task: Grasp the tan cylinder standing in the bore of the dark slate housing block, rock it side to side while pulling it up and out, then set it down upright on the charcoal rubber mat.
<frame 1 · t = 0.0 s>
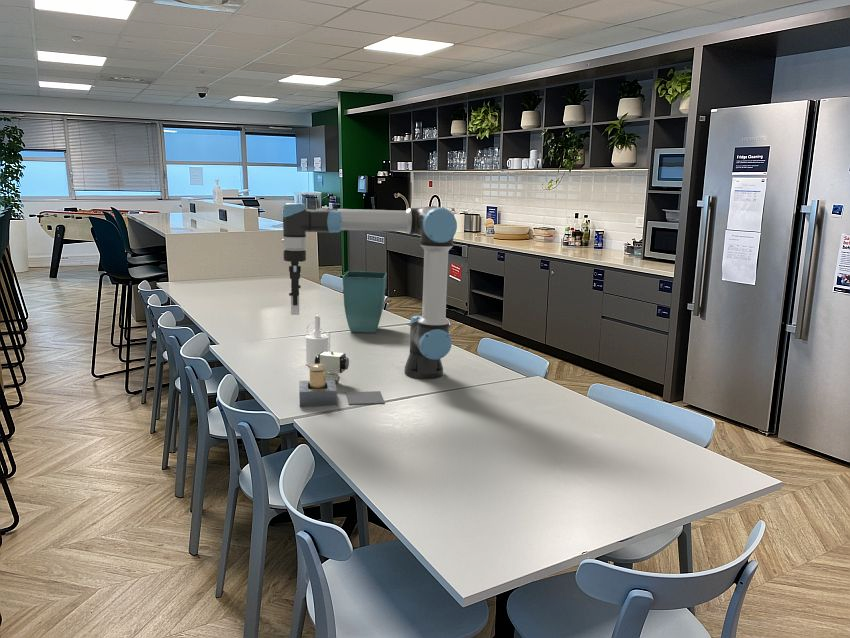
hand: (295, 310, 219), 28 cm above the table, fingers open, 13 cm apart
tan cylinder: (317, 400, 213), resting in housing
mat: (365, 398, 216), on the table
housing: (317, 399, 213), on the table
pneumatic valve: (332, 382, 232), on the table
white squeeze bottle: (318, 364, 255), on the table
flower pot: (364, 330, 317), on the table
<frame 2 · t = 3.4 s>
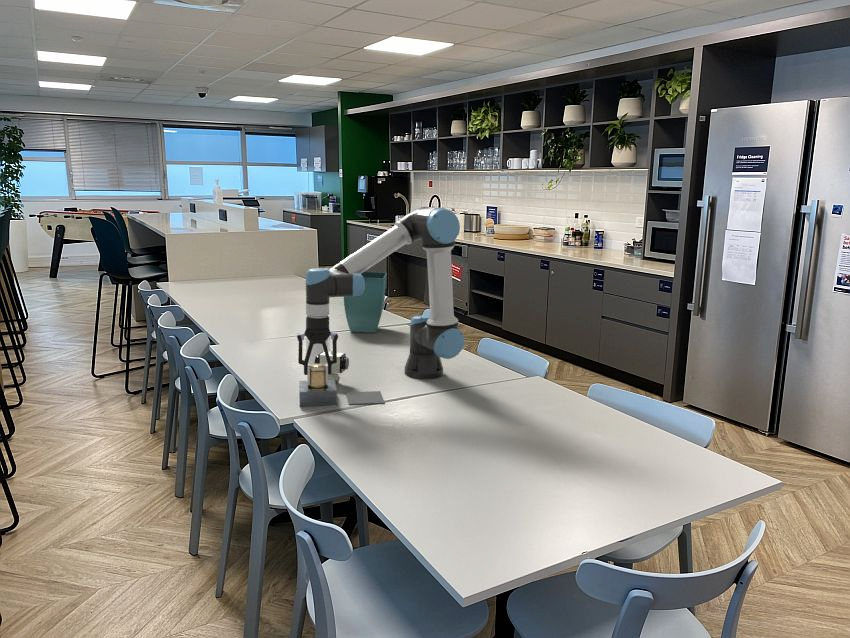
hand: (317, 383, 212), 6 cm above the table, fingers closed on tan cylinder, 5 cm apart
tan cylinder: (317, 400, 213), resting in housing, touching gripper
everything else where it was.
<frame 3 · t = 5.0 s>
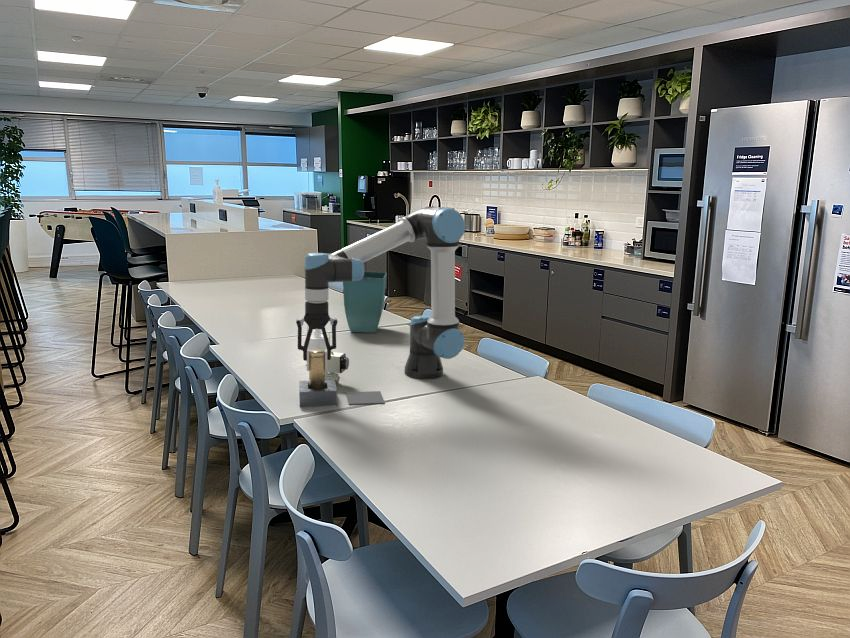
hand: (317, 369, 211), 11 cm above the table, fingers closed on tan cylinder, 5 cm apart
tan cylinder: (317, 385, 212), point 5 cm above the table, touching gripper
everything else where it was.
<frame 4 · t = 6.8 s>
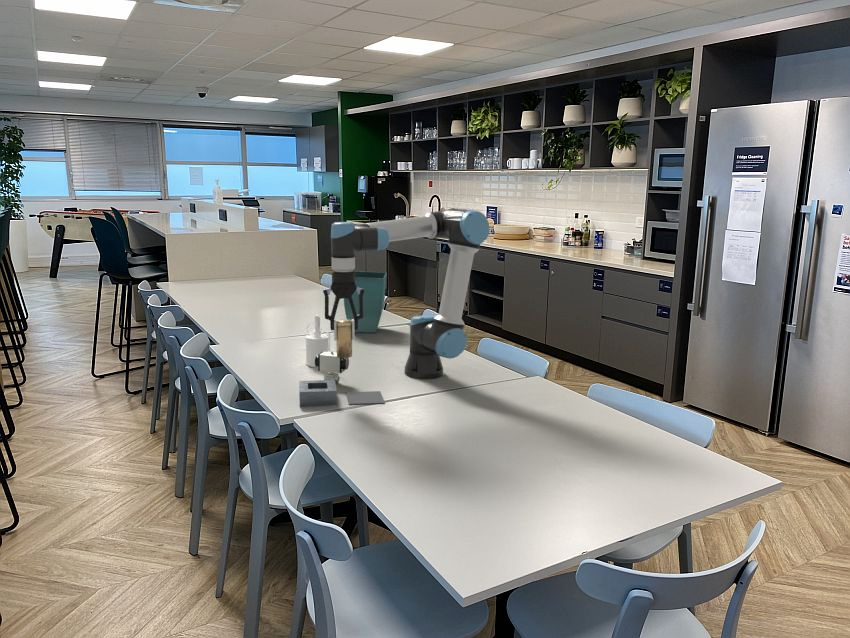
hand: (344, 339, 211), 21 cm above the table, fingers closed on tan cylinder, 5 cm apart
tan cylinder: (344, 355, 212), point 15 cm above the table, touching gripper
everything else where it was.
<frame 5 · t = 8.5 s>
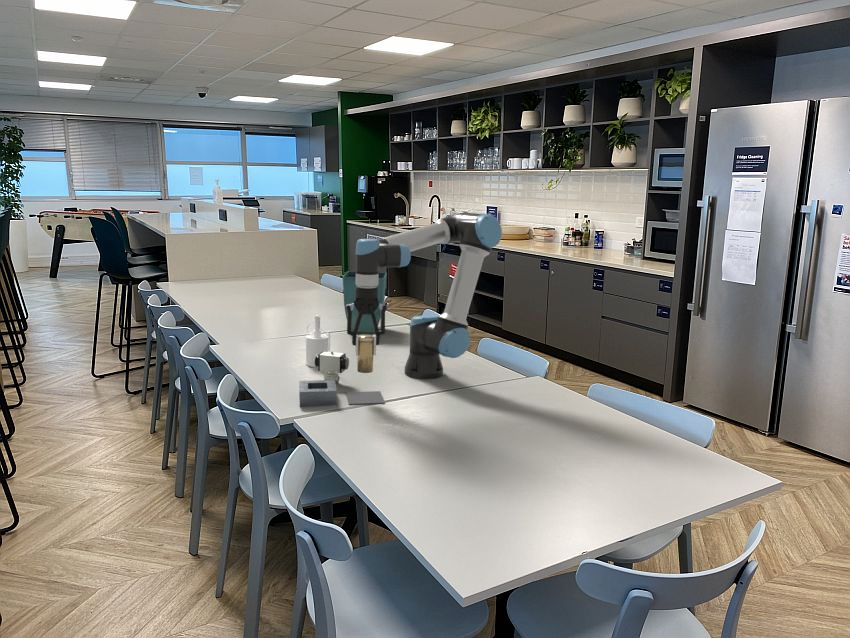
hand: (365, 354, 213), 16 cm above the table, fingers closed on tan cylinder, 5 cm apart
tan cylinder: (365, 370, 214), point 10 cm above the table, touching gripper
everything else where it was.
when the fingers open (8 cm above the table, at t = 10.2 s): tan cylinder drops 2 cm, resting on mat.
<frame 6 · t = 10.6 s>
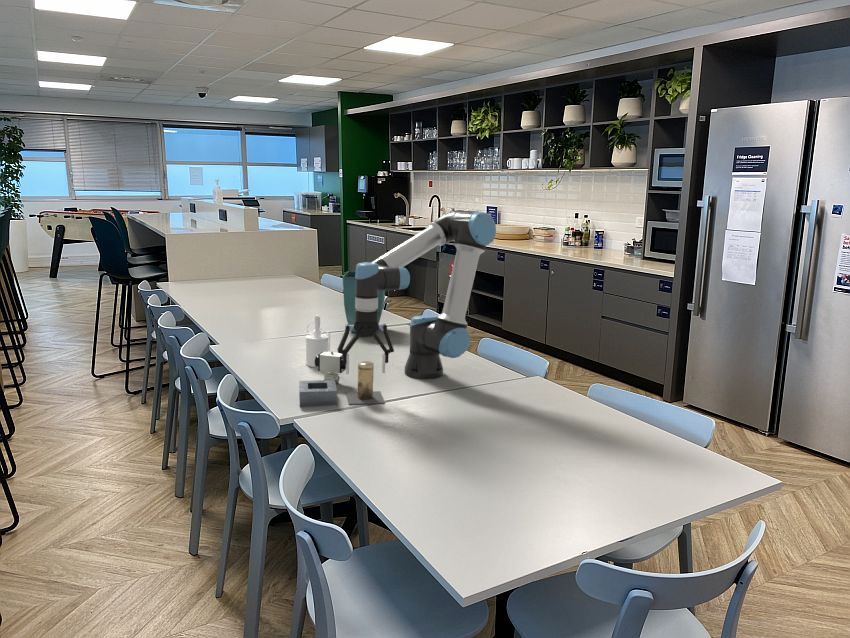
hand: (365, 372, 214), 9 cm above the table, fingers open, 11 cm apart
tan cylinder: (365, 397, 216), resting on mat
everything else where it was.
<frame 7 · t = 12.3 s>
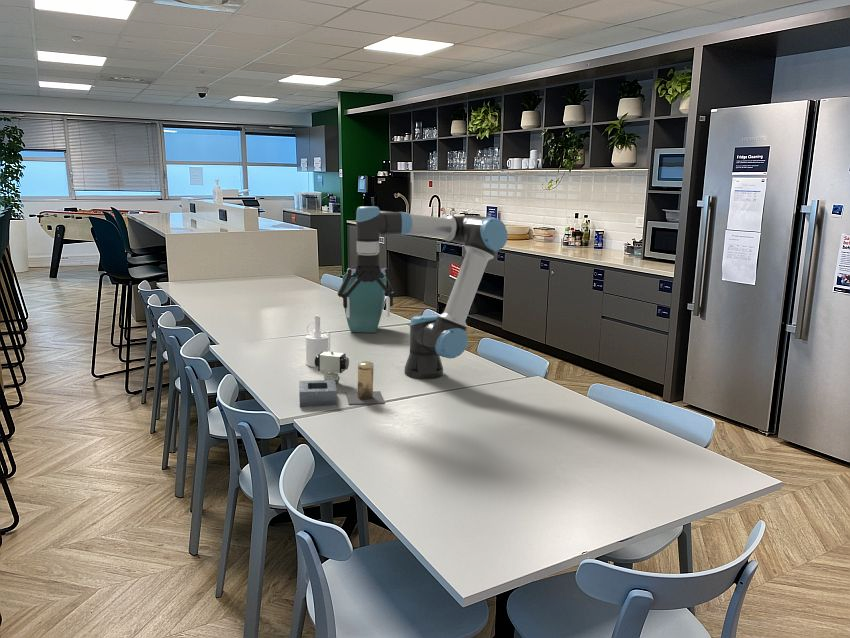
hand: (368, 316, 213), 28 cm above the table, fingers open, 13 cm apart
nothing on the table moved.
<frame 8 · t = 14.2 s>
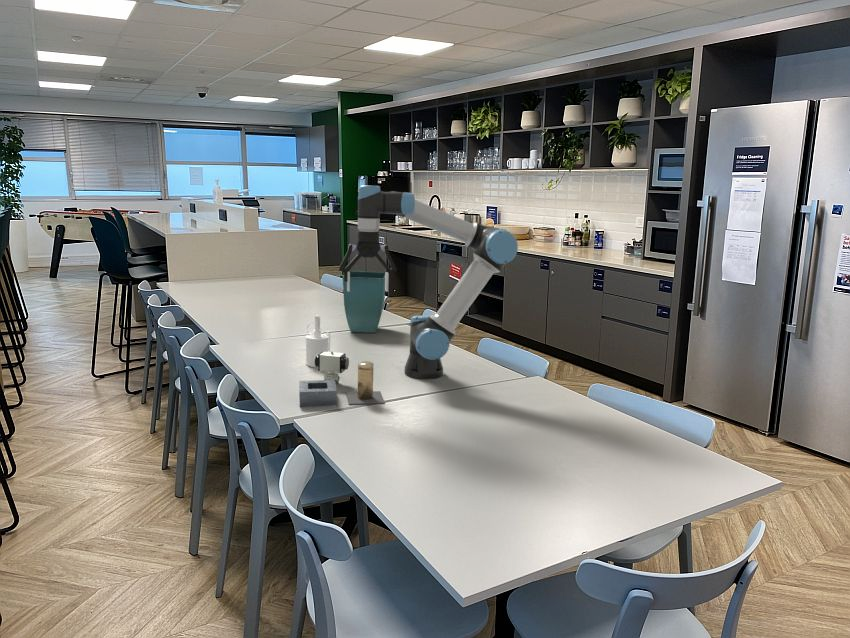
hand: (367, 291, 224), 35 cm above the table, fingers open, 13 cm apart
nothing on the table moved.
at the end: tan cylinder inside the target area on the mat (0.1 cm from its centre), point 0.4 cm above the mat's base; tan cylinder tilted 0°; the gripper is holding nothing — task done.
